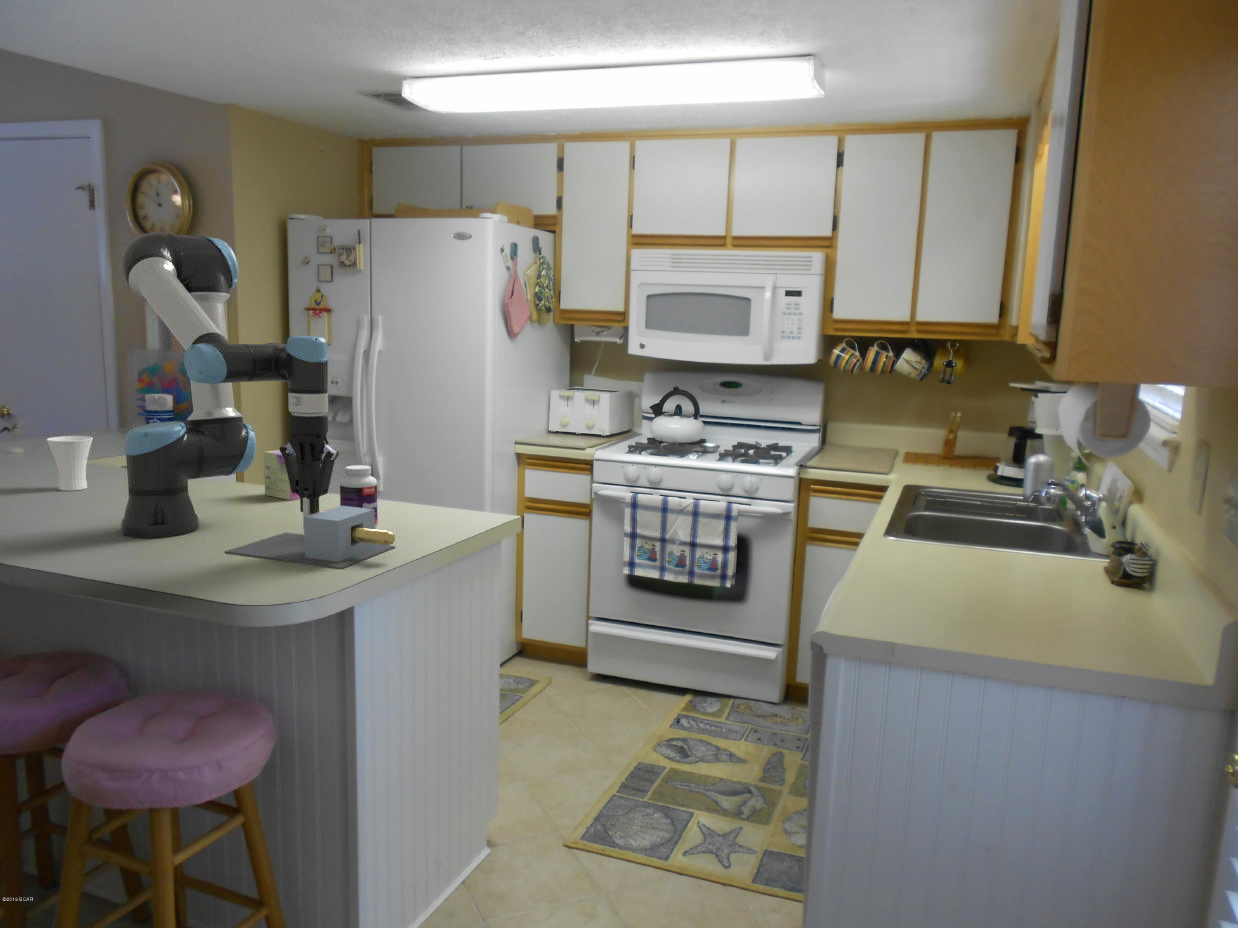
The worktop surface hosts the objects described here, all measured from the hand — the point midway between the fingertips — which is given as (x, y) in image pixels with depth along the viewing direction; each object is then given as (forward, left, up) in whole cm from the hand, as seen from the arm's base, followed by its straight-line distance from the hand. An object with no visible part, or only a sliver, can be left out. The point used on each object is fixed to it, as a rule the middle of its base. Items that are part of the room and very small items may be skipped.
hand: (310, 528), depth 183 cm
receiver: (+7, 0, -5) cm, 9 cm away
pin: (+11, 0, -4) cm, 11 cm away
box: (-41, +42, -5) cm, 59 cm away
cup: (-96, +25, -5) cm, 99 cm away
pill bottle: (-2, +19, -5) cm, 20 cm away
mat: (0, 0, -5) cm, 5 cm away
